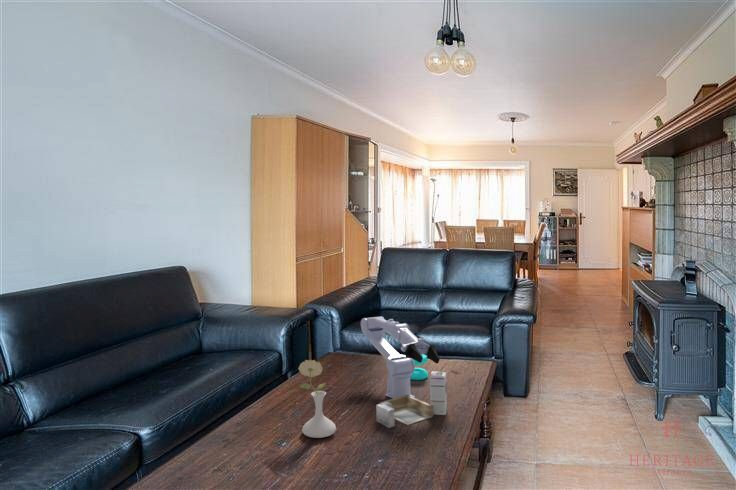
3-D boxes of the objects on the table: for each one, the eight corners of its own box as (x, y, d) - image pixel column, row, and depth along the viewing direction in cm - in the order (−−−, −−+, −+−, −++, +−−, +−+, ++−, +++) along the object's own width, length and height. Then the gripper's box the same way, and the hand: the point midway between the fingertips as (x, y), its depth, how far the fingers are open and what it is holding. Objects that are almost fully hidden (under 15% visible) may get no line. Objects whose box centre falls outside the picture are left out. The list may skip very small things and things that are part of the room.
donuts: (420, 359, 214) (401, 356, 220) (421, 382, 214) (401, 378, 220) (431, 354, 222) (412, 351, 228) (431, 376, 222) (413, 372, 228)
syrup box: (446, 415, 177) (445, 376, 177) (429, 414, 179) (429, 375, 178) (447, 409, 183) (446, 371, 182) (431, 408, 184) (431, 370, 184)
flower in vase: (341, 429, 167) (340, 357, 166) (328, 443, 156) (326, 366, 155) (307, 424, 171) (305, 354, 170) (291, 438, 160) (290, 363, 159)
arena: (380, 413, 180) (380, 402, 180) (406, 404, 188) (406, 394, 188) (406, 426, 169) (406, 414, 169) (433, 416, 176) (433, 405, 176)
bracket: (376, 421, 173) (376, 404, 173) (387, 417, 176) (387, 401, 176) (388, 427, 167) (388, 410, 167) (400, 424, 170) (399, 407, 170)
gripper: (398, 331, 183) (416, 349, 172) (429, 334, 190) (449, 351, 179) (393, 348, 185) (410, 367, 173) (424, 350, 192) (443, 368, 180)
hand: (429, 360), depth 176 cm, fingers open, 7 cm apart
